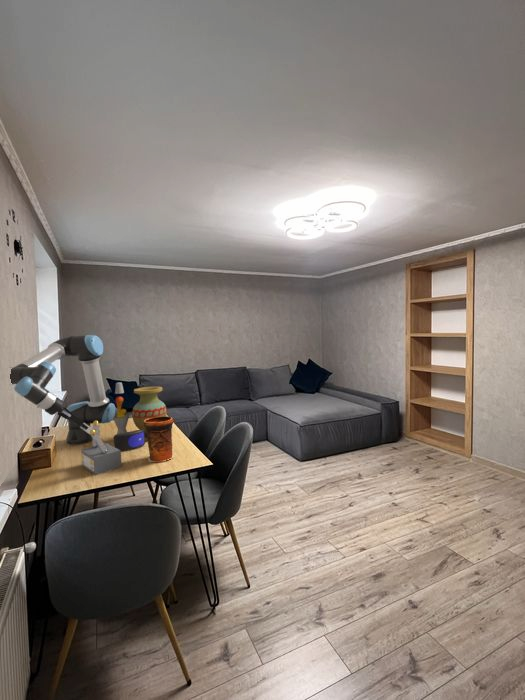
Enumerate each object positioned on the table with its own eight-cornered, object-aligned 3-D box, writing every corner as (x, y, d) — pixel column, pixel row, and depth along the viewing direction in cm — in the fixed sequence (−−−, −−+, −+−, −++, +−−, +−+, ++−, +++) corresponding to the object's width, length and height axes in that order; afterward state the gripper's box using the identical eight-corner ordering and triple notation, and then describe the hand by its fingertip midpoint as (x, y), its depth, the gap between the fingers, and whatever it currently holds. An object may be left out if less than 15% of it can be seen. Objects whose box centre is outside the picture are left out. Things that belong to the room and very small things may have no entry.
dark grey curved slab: (116, 453, 183) (114, 436, 182) (114, 451, 186) (112, 434, 186) (146, 446, 192) (145, 430, 192) (144, 444, 196) (143, 428, 195)
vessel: (144, 465, 164) (142, 423, 164) (146, 455, 178) (144, 417, 178) (175, 461, 168) (173, 420, 168) (175, 452, 182) (173, 414, 181)
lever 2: (101, 452, 161) (87, 431, 157) (106, 449, 163) (92, 428, 158) (104, 454, 159) (90, 432, 154) (108, 451, 160) (95, 429, 156)
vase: (132, 436, 214) (129, 388, 212) (165, 431, 222) (163, 385, 220) (134, 445, 196) (131, 392, 194) (170, 439, 203) (167, 389, 202)
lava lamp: (119, 444, 198) (115, 384, 196) (111, 442, 203) (107, 383, 201) (133, 440, 205) (130, 381, 203) (125, 437, 211) (121, 381, 209)
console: (80, 466, 167) (79, 450, 166) (107, 458, 176) (106, 443, 175) (94, 475, 155) (92, 457, 154) (121, 466, 164) (120, 450, 163)
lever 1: (92, 446, 169) (92, 420, 169) (97, 445, 171) (97, 419, 171) (94, 447, 167) (94, 421, 167) (99, 446, 169) (99, 420, 169)
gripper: (40, 408, 158) (81, 436, 170) (48, 412, 148) (91, 441, 161) (52, 395, 161) (92, 423, 174) (61, 398, 152) (102, 427, 164)
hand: (91, 431), depth 167 cm, fingers closed
